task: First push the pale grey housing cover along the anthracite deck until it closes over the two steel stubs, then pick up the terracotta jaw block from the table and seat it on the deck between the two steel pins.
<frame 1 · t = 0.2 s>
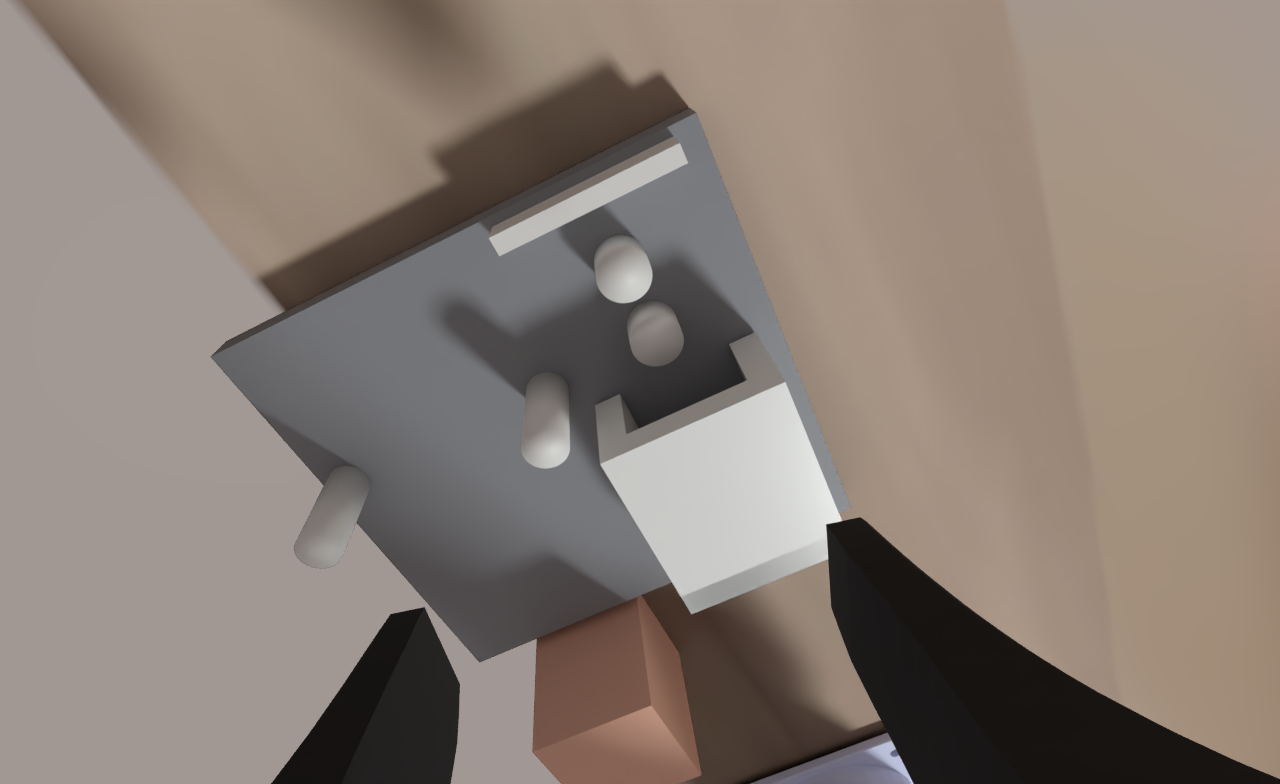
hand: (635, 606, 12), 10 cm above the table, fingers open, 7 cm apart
housing cover: (722, 476, 20), point 3 cm above the table, slide at 0.0 cm
deck: (566, 423, 22), on the table
jaw block: (609, 639, 26), on the table
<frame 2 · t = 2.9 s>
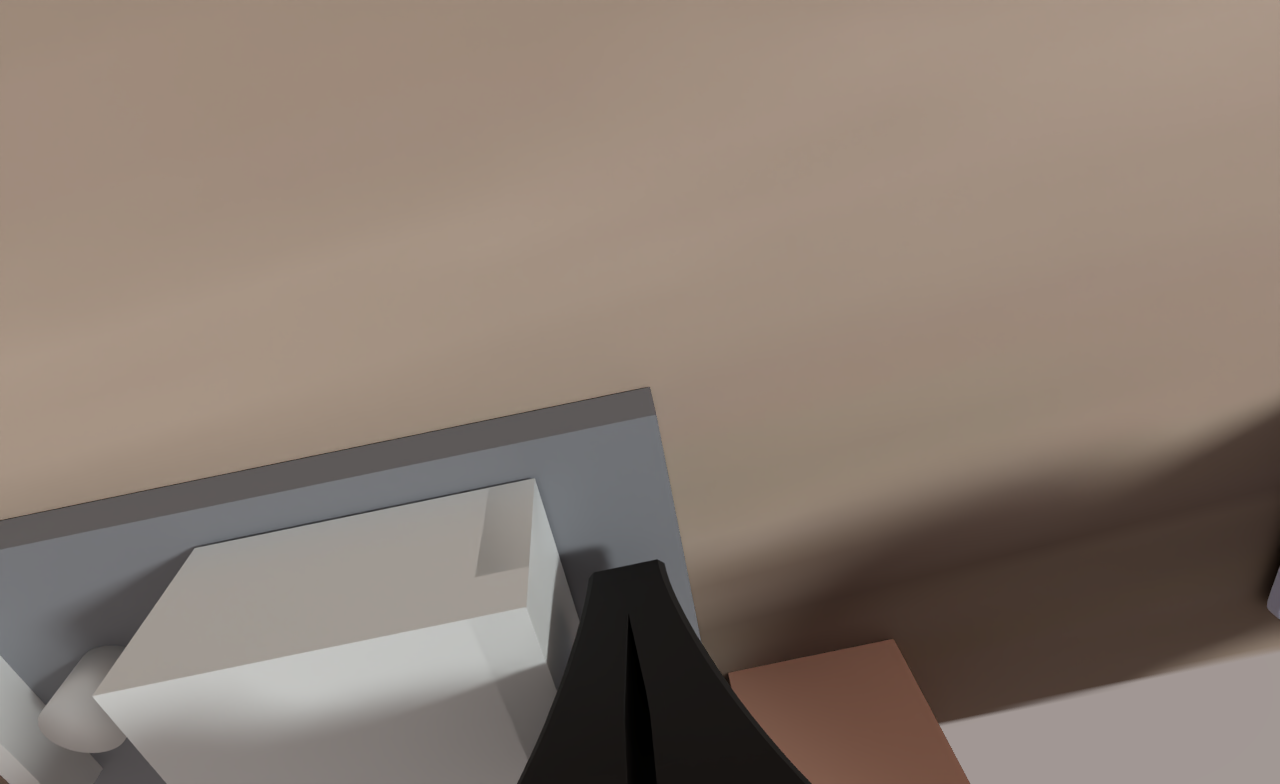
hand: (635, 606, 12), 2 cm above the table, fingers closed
housing cover: (396, 681, 12), point 3 cm above the table, slide at 0.8 cm, touching gripper
deck: (414, 708, 16), on the table
jaw block: (815, 708, 18), on the table
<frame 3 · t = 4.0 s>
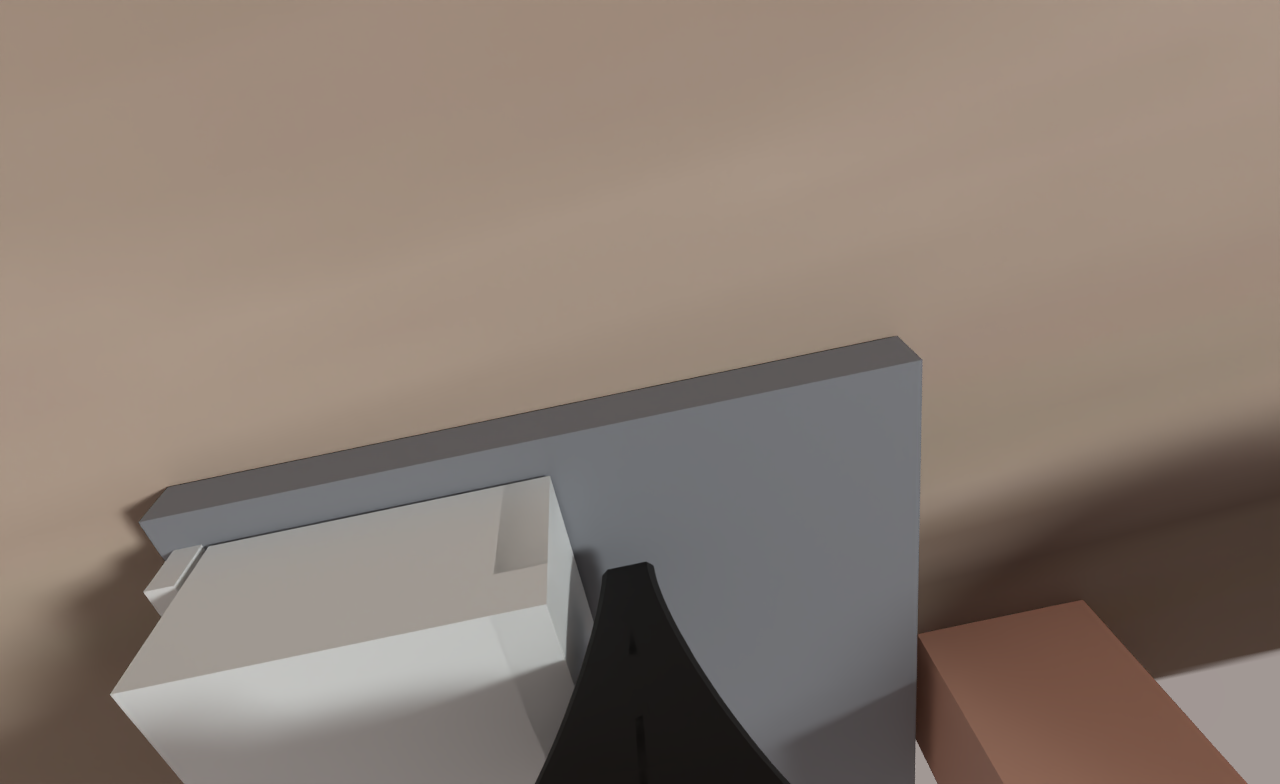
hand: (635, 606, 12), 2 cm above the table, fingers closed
housing cover: (411, 679, 12), point 3 cm above the table, slide at 5.1 cm, touching gripper
deck: (609, 669, 16), on the table
jaw block: (993, 671, 18), on the table
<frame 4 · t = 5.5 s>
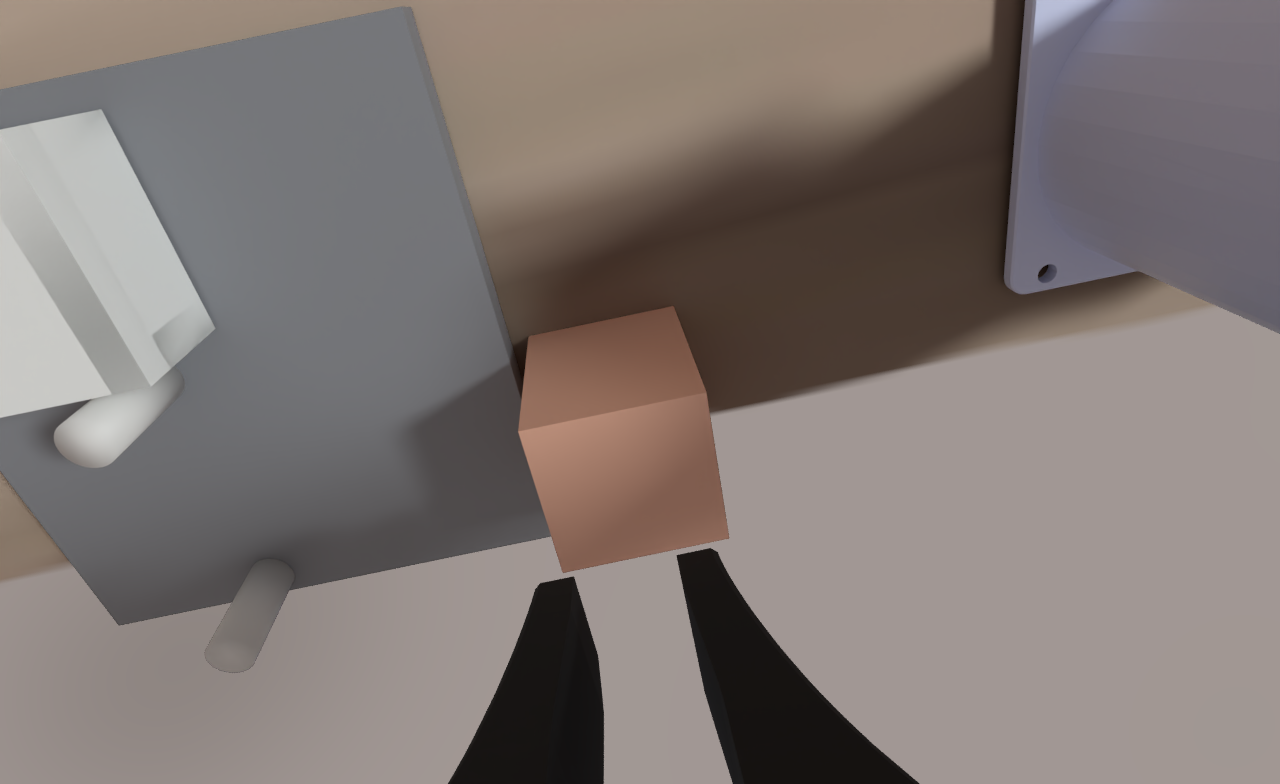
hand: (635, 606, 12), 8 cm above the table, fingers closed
deck: (248, 358, 18), on the table
jaw block: (615, 384, 20), on the table
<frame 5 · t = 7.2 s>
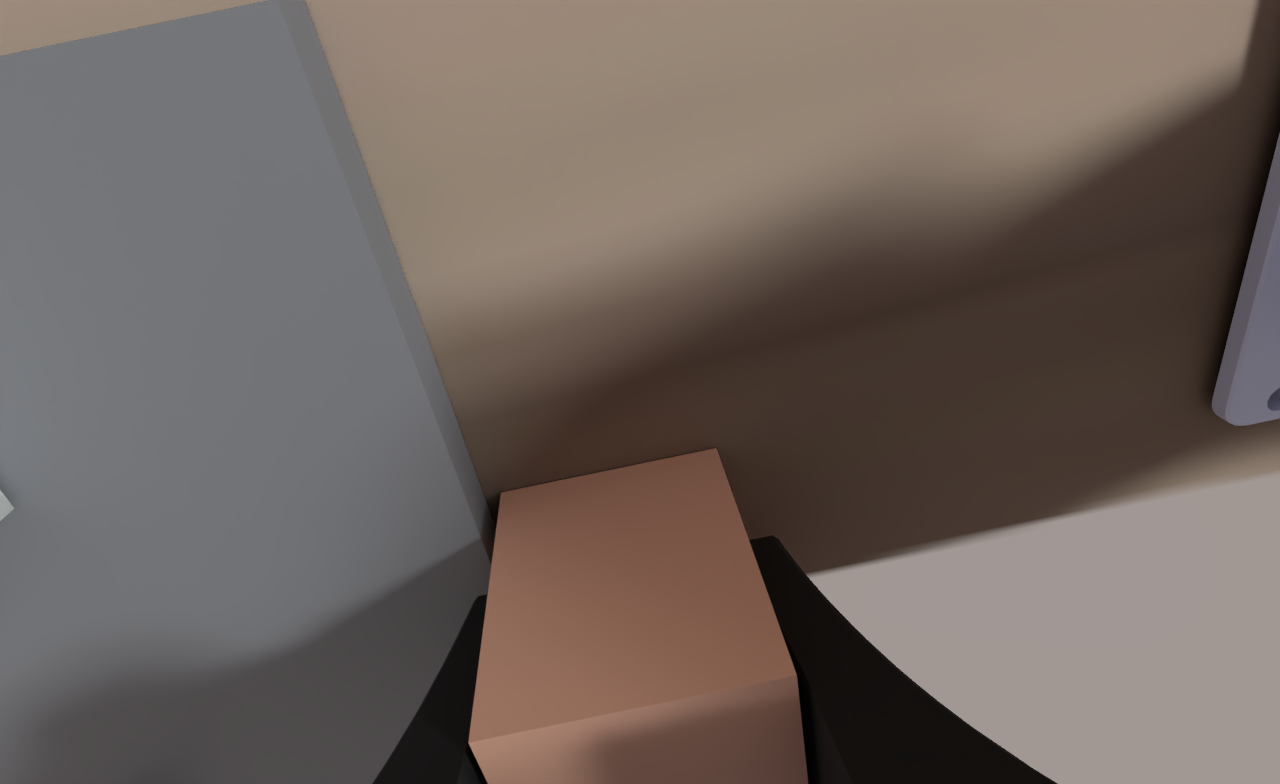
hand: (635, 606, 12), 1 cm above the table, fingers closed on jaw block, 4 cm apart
deck: (90, 529, 12), on the table
jaw block: (628, 552, 14), on the table, touching gripper
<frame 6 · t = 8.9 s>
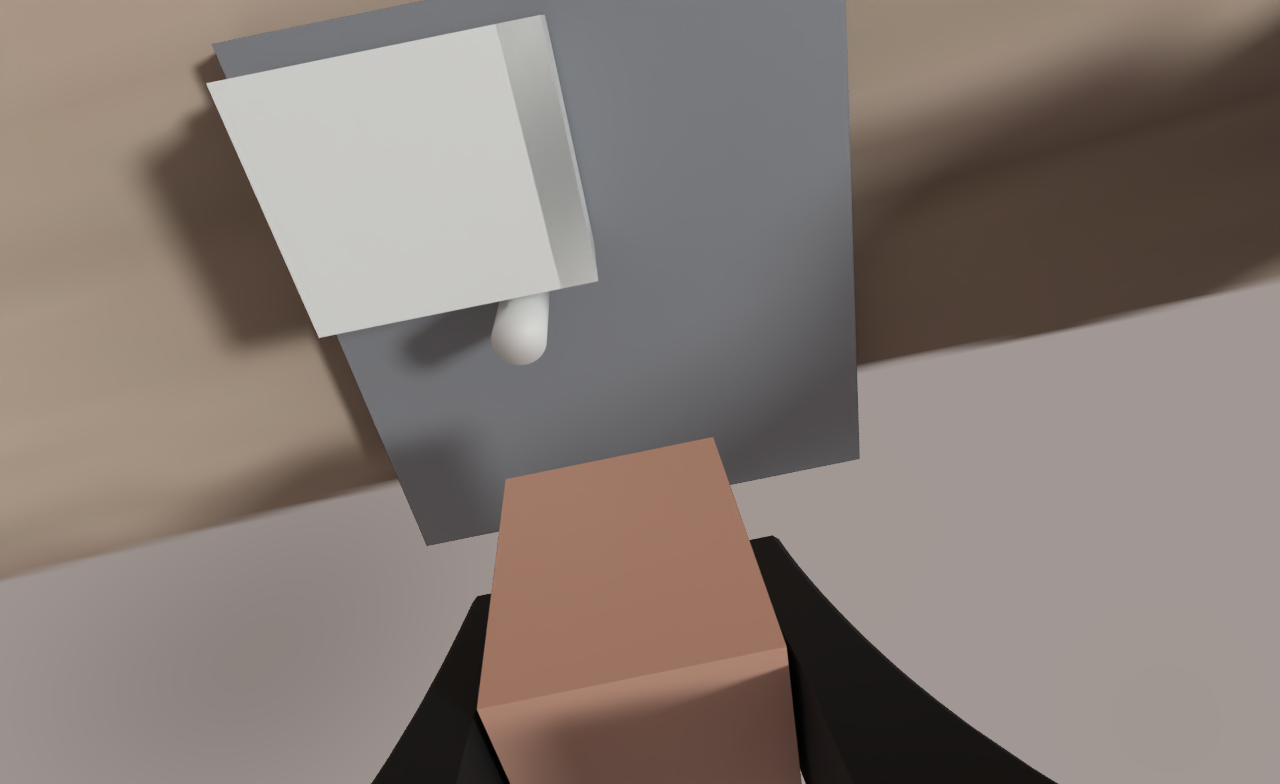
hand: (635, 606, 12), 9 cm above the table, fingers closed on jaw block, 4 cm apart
housing cover: (432, 175, 15), point 3 cm above the table, slide at 5.0 cm
deck: (594, 277, 19), on the table
jaw block: (628, 538, 14), point 7 cm above the table, touching gripper
when the fingers open (3 cm above the table, at t = 10.5 s): jaw block stays where it is, resting on deck.
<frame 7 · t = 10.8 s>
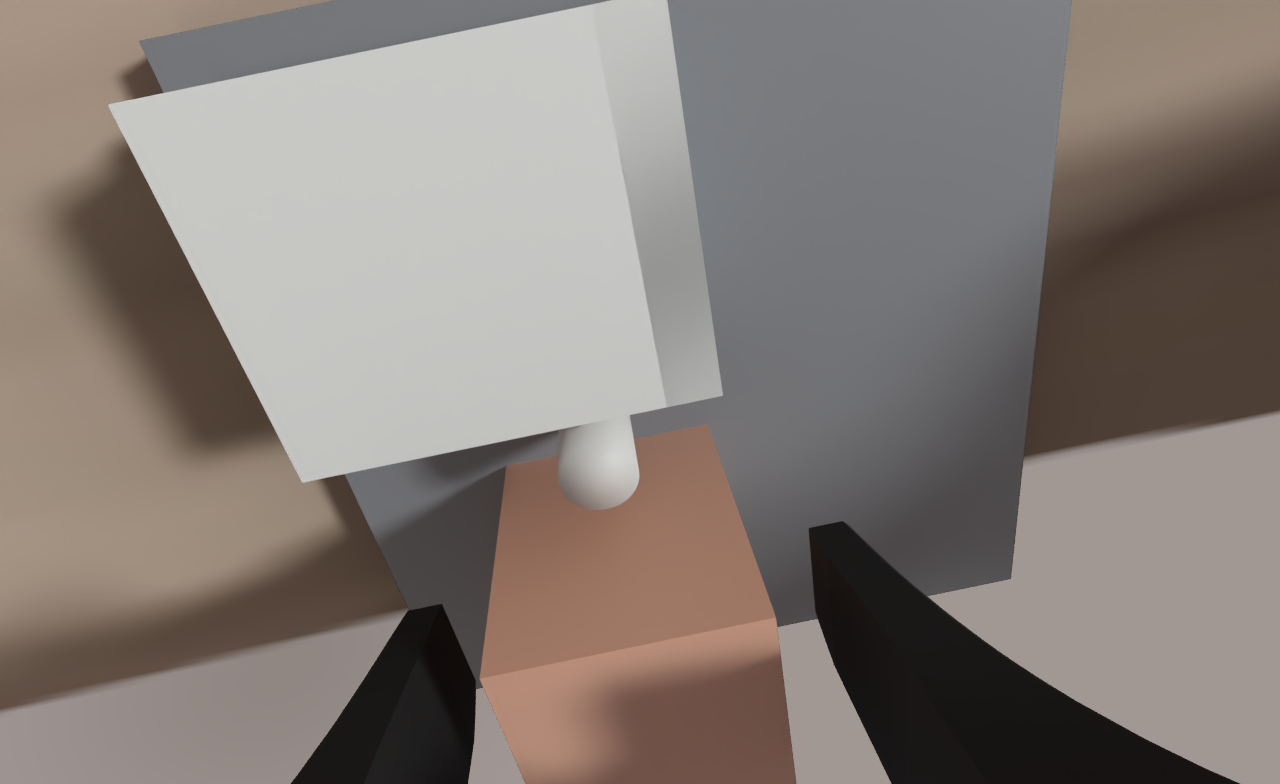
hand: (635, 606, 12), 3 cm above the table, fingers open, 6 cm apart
housing cover: (472, 236, 10), point 3 cm above the table, slide at 5.0 cm
deck: (678, 356, 14), on the table
jaw block: (626, 523, 15), point 1 cm above the table, touching deck
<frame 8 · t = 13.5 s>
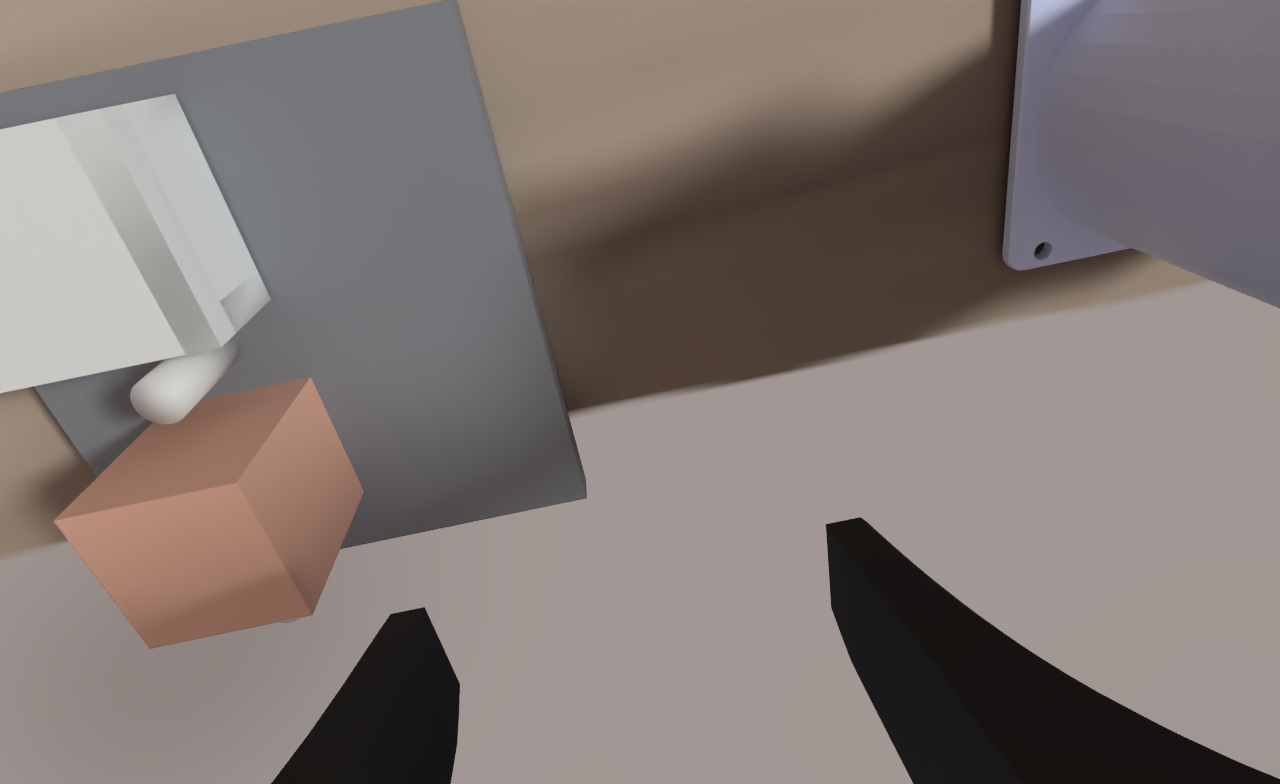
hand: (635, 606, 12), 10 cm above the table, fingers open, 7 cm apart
housing cover: (66, 247, 16), point 3 cm above the table, slide at 5.0 cm
deck: (297, 329, 20), on the table
jaw block: (271, 450, 20), point 1 cm above the table, touching deck
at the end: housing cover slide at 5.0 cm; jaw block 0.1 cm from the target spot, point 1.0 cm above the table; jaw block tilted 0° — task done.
